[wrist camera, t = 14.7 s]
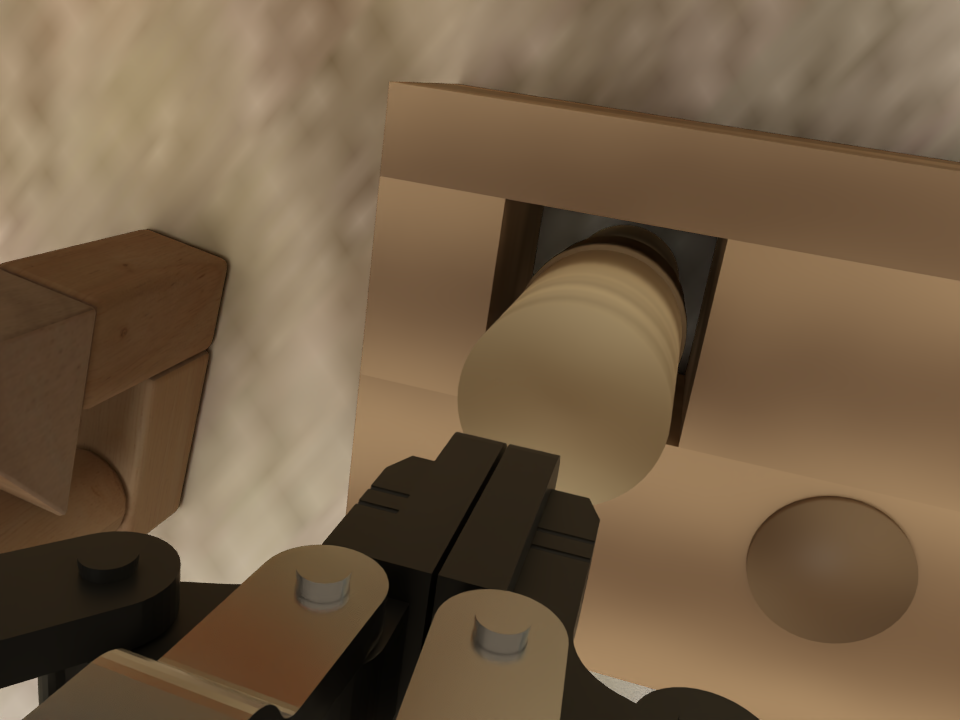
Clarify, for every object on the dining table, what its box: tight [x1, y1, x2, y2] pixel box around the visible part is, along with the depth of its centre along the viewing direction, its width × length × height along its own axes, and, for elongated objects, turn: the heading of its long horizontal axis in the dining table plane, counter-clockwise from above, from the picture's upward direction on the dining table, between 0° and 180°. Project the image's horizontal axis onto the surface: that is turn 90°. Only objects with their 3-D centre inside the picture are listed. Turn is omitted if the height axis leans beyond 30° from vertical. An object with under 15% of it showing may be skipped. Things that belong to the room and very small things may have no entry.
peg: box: [457, 225, 687, 505], centre depth 21 cm, size 4×4×12 cm
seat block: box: [346, 82, 960, 720], centre depth 24 cm, size 15×18×6 cm
